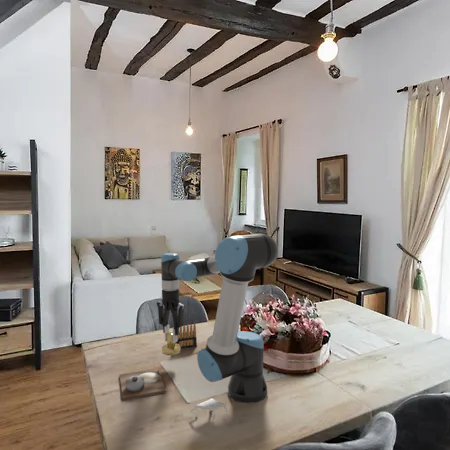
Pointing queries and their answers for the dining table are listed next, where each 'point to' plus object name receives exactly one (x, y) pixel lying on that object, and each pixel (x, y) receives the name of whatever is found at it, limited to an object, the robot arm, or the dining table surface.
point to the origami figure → (210, 406)
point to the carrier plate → (147, 387)
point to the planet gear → (170, 346)
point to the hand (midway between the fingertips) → (171, 341)
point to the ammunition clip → (187, 337)
